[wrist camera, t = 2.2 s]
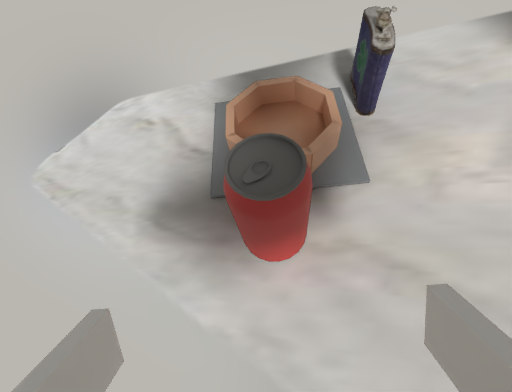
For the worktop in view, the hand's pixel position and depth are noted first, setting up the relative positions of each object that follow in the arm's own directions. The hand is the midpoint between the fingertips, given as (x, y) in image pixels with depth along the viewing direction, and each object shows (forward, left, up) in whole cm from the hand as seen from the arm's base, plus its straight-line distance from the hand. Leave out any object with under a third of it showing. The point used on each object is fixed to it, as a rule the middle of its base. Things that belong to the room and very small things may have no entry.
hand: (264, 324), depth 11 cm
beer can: (0, -10, -14) cm, 17 cm away
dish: (-2, -23, -13) cm, 27 cm away
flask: (-14, -30, -14) cm, 36 cm away
